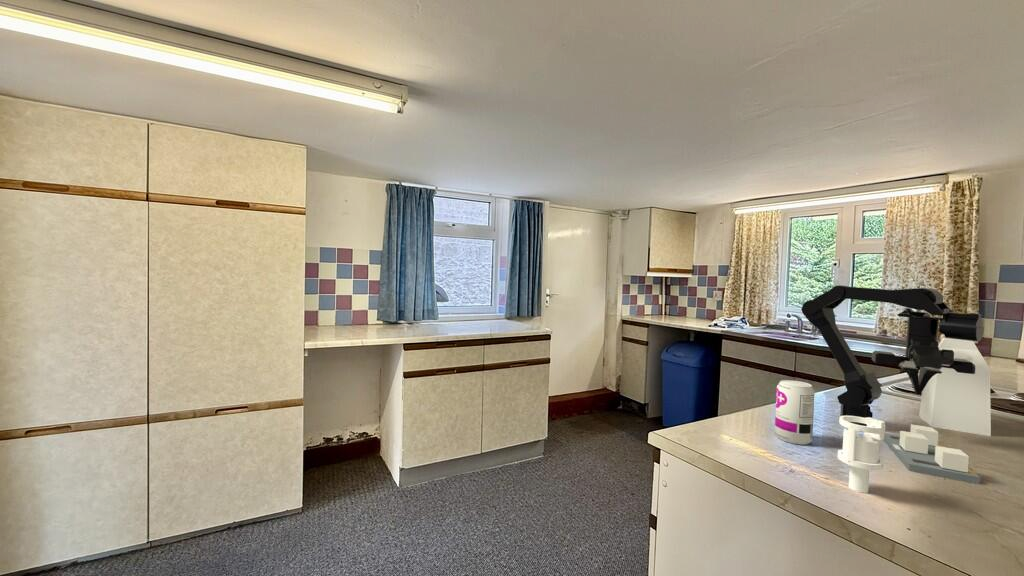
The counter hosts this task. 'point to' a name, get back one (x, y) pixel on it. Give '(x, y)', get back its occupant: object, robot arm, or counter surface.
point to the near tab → (951, 458)
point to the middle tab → (913, 442)
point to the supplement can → (794, 412)
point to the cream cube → (926, 433)
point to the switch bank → (926, 461)
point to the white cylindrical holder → (861, 449)
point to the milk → (959, 393)
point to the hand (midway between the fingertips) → (917, 393)
